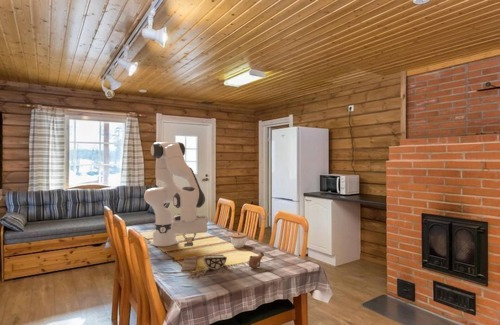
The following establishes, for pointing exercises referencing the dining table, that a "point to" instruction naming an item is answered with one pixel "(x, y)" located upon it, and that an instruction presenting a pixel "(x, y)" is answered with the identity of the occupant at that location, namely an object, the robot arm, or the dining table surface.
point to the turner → (189, 242)
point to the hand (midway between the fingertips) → (189, 240)
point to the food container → (215, 261)
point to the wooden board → (189, 264)
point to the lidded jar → (238, 239)
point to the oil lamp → (255, 260)
